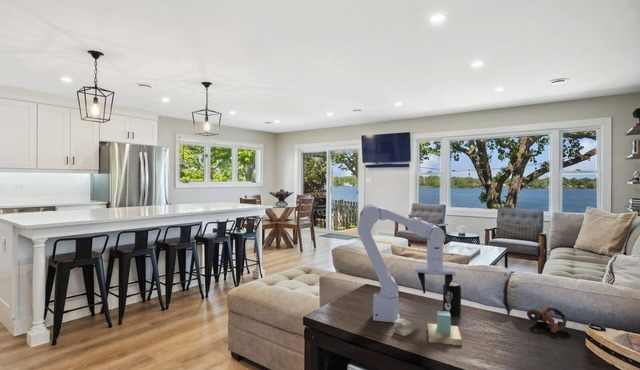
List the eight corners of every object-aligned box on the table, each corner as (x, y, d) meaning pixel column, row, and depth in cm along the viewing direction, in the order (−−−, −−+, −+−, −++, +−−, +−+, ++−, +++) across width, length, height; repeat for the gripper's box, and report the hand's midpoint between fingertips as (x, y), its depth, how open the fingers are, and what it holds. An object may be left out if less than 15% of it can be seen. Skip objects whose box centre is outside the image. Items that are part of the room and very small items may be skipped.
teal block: (437, 332, 115) (437, 314, 115) (436, 327, 119) (437, 310, 118) (450, 333, 114) (450, 316, 114) (449, 328, 118) (449, 311, 117)
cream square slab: (429, 341, 112) (429, 335, 112) (427, 328, 122) (427, 323, 122) (461, 345, 110) (461, 339, 110) (457, 331, 120) (457, 326, 120)
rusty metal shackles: (553, 322, 128) (564, 308, 124) (561, 344, 120) (574, 329, 116) (519, 312, 130) (529, 297, 126) (525, 333, 122) (536, 318, 118)
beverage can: (462, 317, 132) (462, 286, 132) (444, 315, 133) (444, 285, 133) (459, 310, 139) (459, 281, 138) (441, 309, 140) (442, 280, 140)
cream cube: (394, 332, 119) (394, 321, 119) (401, 329, 122) (401, 318, 122) (404, 336, 116) (404, 325, 116) (410, 333, 119) (410, 321, 119)
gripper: (415, 259, 127) (415, 295, 128) (456, 261, 124) (456, 298, 124) (414, 254, 134) (414, 289, 135) (454, 257, 131) (454, 292, 131)
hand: (434, 293), depth 130 cm, fingers open, 7 cm apart
